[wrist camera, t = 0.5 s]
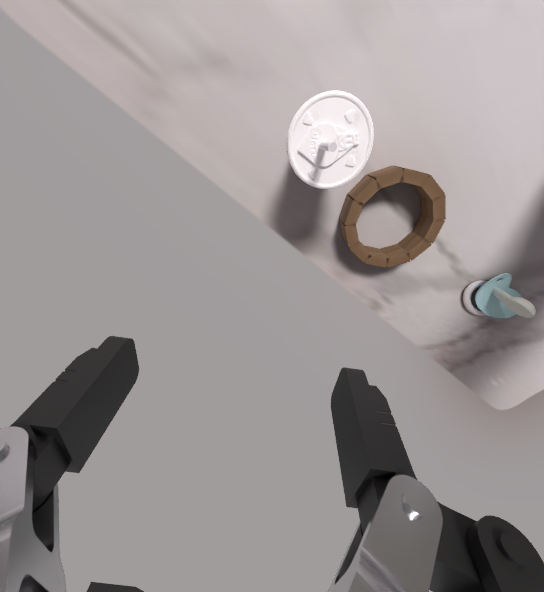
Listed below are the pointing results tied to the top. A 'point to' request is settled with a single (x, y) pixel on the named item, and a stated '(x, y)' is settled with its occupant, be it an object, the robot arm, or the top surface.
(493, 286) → the pacifier
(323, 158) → the smoothie
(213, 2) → the top surface
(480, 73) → the top surface
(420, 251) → the brown polygonal ring
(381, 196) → the top surface
